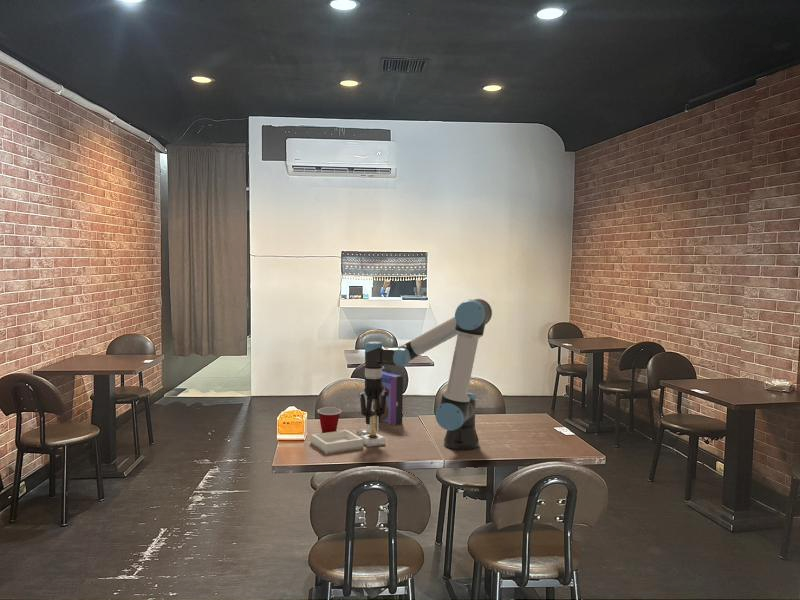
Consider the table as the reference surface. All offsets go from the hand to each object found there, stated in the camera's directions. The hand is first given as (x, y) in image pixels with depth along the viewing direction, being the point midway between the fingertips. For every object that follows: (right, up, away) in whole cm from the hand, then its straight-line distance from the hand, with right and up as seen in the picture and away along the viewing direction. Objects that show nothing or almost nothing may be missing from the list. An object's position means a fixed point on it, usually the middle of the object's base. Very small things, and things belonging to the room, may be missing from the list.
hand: (372, 430), depth 268 cm
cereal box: (+6, -4, +40) cm, 41 cm away
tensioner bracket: (-2, -5, +4) cm, 7 cm away
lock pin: (0, -6, 0) cm, 6 cm away
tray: (-15, -6, -4) cm, 17 cm away
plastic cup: (-20, -5, +12) cm, 24 cm away
